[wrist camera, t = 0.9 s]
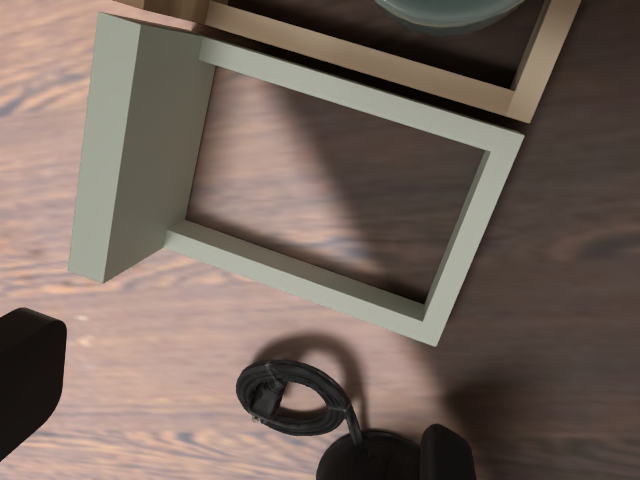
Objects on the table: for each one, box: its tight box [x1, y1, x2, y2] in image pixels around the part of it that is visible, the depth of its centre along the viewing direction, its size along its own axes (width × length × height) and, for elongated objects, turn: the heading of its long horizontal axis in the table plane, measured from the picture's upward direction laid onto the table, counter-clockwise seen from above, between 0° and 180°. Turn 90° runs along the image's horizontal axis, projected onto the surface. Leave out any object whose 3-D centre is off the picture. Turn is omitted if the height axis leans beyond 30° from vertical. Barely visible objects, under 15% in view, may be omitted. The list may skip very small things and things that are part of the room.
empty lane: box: [68, 12, 524, 347], centre depth 27 cm, size 12×19×8 cm, turn 74°
